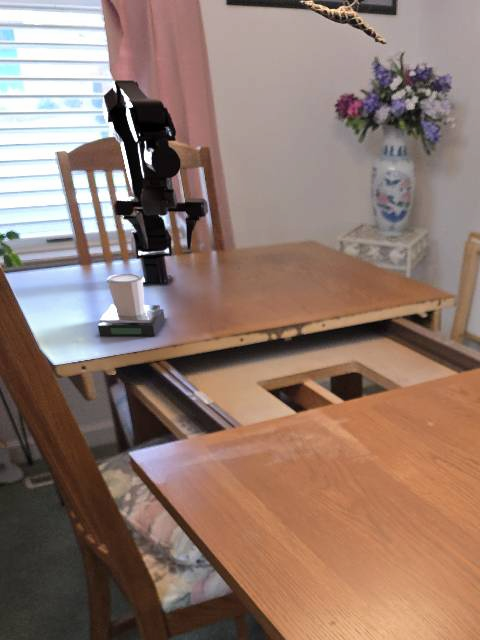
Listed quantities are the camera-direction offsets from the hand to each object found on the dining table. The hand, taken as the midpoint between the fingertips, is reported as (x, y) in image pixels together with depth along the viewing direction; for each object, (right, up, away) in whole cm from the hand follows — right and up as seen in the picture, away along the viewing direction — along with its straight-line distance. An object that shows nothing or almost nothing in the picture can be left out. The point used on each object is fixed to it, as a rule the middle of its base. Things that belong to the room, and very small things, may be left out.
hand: (168, 248), depth 157 cm
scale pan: (-5, -18, -9) cm, 20 cm away
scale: (-5, -20, -7) cm, 22 cm away
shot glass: (-5, -17, -9) cm, 20 cm away
